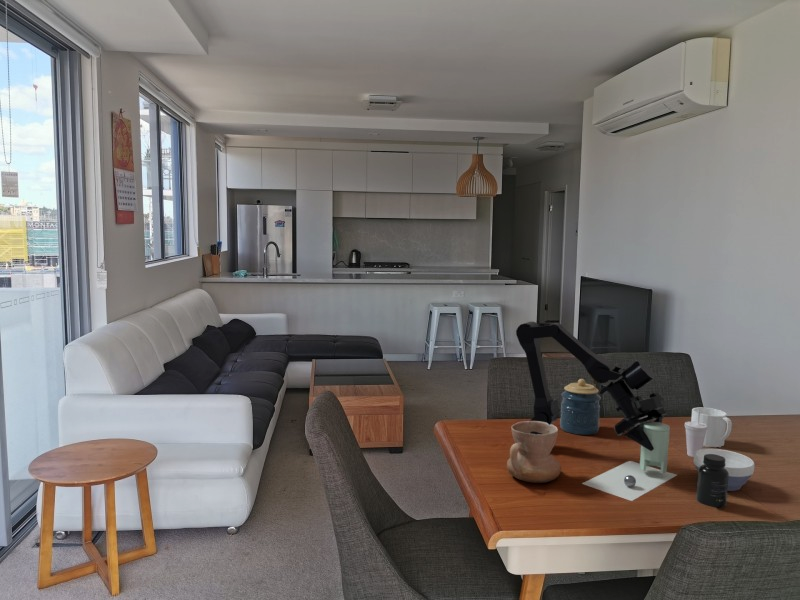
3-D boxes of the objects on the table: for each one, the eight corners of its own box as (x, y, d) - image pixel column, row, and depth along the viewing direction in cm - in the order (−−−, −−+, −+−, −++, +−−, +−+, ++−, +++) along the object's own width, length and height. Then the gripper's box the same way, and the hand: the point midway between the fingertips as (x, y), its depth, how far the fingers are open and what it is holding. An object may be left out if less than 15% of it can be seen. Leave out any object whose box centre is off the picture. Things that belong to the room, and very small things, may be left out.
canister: (599, 437, 204) (602, 385, 202) (558, 433, 208) (561, 381, 206) (598, 425, 217) (601, 376, 215) (560, 422, 220) (562, 373, 218)
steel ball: (623, 487, 162) (624, 476, 162) (623, 483, 165) (624, 472, 165) (635, 489, 161) (636, 478, 161) (635, 485, 164) (636, 474, 164)
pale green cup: (639, 471, 170) (642, 427, 169) (639, 462, 177) (642, 420, 175) (667, 475, 168) (670, 430, 166) (665, 466, 174) (669, 423, 173)
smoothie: (708, 460, 185) (711, 414, 184) (685, 458, 187) (688, 412, 185) (702, 452, 192) (705, 408, 190) (680, 450, 193) (683, 406, 191)
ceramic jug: (533, 462, 181) (534, 415, 179) (574, 478, 169) (576, 427, 168) (489, 477, 170) (490, 427, 168) (530, 495, 158) (531, 441, 157)
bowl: (751, 501, 157) (753, 472, 156) (688, 487, 165) (690, 460, 164) (753, 482, 169) (756, 455, 168) (695, 470, 177) (697, 444, 176)
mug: (683, 440, 203) (685, 409, 202) (702, 435, 208) (704, 406, 207) (719, 452, 192) (721, 420, 191) (738, 447, 197) (741, 416, 196)
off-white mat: (631, 502, 155) (631, 500, 155) (581, 485, 165) (581, 483, 165) (677, 476, 172) (677, 474, 172) (629, 462, 182) (629, 460, 182)
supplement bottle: (690, 497, 158) (693, 452, 157) (715, 497, 159) (719, 451, 158) (705, 509, 152) (709, 462, 150) (732, 509, 152) (736, 461, 151)
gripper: (627, 388, 167) (663, 439, 159) (662, 379, 178) (697, 426, 171) (599, 410, 174) (633, 460, 166) (634, 399, 185) (667, 446, 178)
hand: (659, 447), depth 170 cm, fingers closed on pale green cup, 7 cm apart
